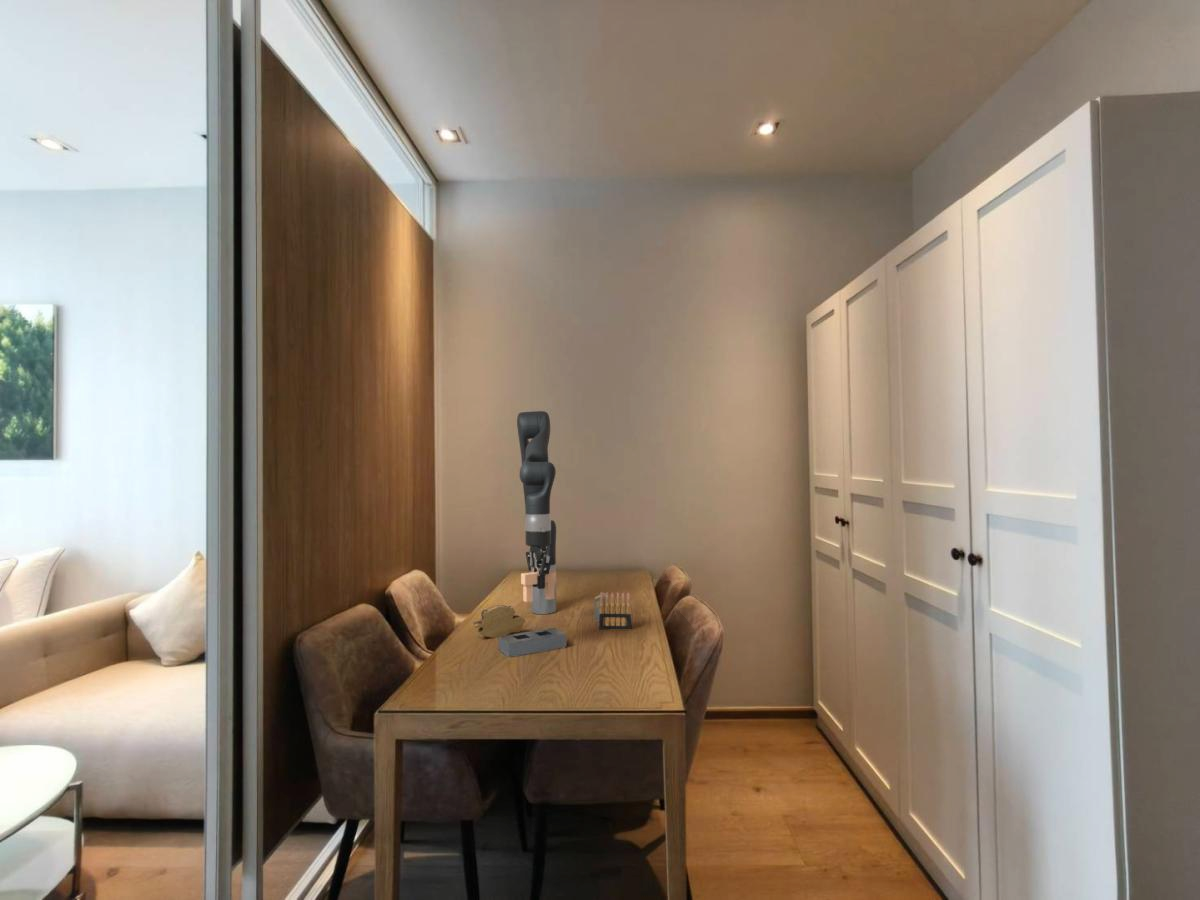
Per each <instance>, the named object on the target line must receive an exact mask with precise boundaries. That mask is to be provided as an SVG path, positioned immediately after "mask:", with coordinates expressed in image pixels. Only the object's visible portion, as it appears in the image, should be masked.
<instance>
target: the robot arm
mask: <svg viewBox="0 0 1200 900" xmlns="http://www.w3.org/2000/svg"><path fill="white" fill-rule="evenodd" d="M516 428H517V436H518V441H519V448H520V456H521V466H520V470H519V480H520V482H521V483H522V487H523V496H524V509H525V526H524V527H525V528H524V529H525V545H526V546H528V547H529V551H526V552H525V559H526V564H527V569H528V572H530V573H531V572H537V575H538V576H537V584H533V602H530V612H531V613H532V614H534V613H535V615H549V613H550V614H554V613H556V612H557V581H556V582H554V599H549V600H548V599H546V598H545V575H546V574H549V571H551V570H552V571H555V572H556V573H557V560H556V558H557V557H556V553H557V552H556V550H557V545H556V543H557V525H556V522H555V520H552V518H551V509H550V506H551V493H552V489H553V485H554V482H555V479H556V472H557V470H556V467H555V465H554V464H553V462H550V461H549V450H548V449H549V442H550V436H551V420H550V415H549V413H548V412H546V411H545V410H544V411H543V410H536V411H535V410H534V411H533V410H532V411H523V412H519V413H518V414H517V418H516ZM553 612H554V613H553Z"/></svg>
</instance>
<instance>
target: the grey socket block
mask: <svg viewBox="0 0 1200 900" xmlns="http://www.w3.org/2000/svg"><path fill="white" fill-rule="evenodd" d="M563 647H566V648H567V633H566V632H564V631H561V630H560V629H558V628H556V627H551V628H545V629H538V630H531V631H525V632H517V633H512V634H511V633H510V634H508V635H505V636H499V638H498V651H499V650H500V651H499V652H501V653H502V654H503V653H504V654H503V655H504V656H506V655H507V658H515V657H518V656H524V655H525V656H526V655H531V654H536V653H542V652H547V651H548V650H549V651H554V650H559V649H558V648H560V649H564V648H563ZM553 649H554V650H553ZM514 656H515V657H514Z"/></svg>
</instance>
